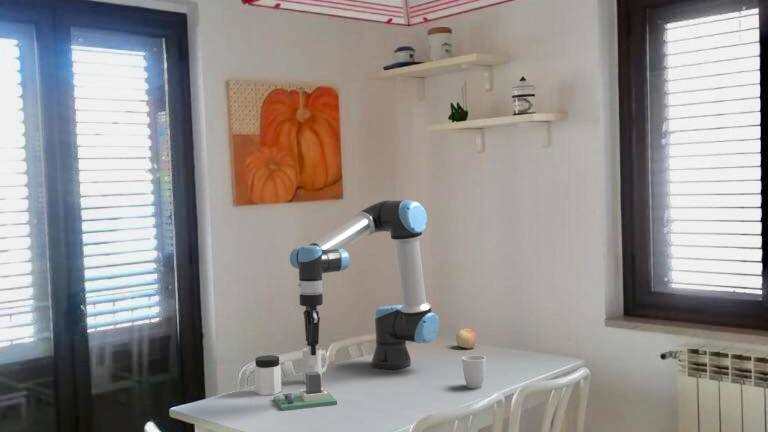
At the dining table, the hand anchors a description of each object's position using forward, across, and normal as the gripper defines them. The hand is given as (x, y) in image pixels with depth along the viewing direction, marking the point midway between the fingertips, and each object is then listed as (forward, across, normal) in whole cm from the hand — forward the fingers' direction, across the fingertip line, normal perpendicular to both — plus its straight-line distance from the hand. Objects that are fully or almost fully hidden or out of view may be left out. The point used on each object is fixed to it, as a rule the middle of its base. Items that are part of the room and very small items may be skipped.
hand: (312, 364), depth 268 cm
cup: (+12, +4, +56) cm, 58 cm away
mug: (+12, -25, +7) cm, 29 cm away
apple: (+12, -54, +79) cm, 97 cm away
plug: (+11, 0, 0) cm, 11 cm away
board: (+12, 0, -3) cm, 13 cm away
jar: (+12, -17, -12) cm, 24 cm away
